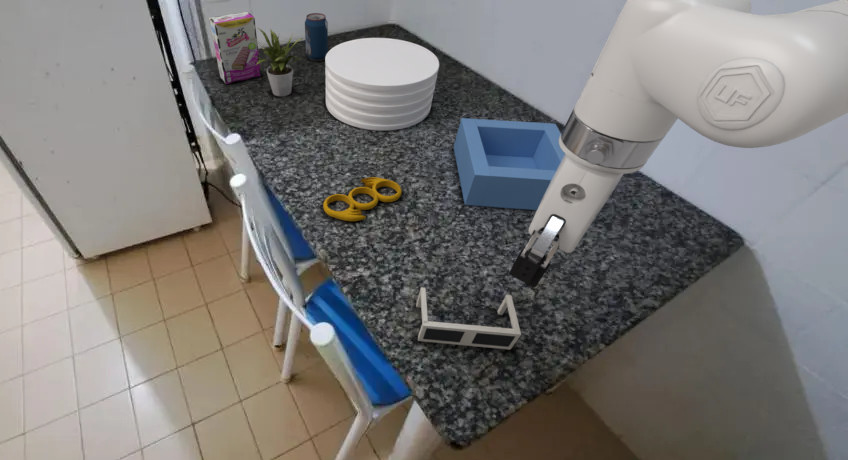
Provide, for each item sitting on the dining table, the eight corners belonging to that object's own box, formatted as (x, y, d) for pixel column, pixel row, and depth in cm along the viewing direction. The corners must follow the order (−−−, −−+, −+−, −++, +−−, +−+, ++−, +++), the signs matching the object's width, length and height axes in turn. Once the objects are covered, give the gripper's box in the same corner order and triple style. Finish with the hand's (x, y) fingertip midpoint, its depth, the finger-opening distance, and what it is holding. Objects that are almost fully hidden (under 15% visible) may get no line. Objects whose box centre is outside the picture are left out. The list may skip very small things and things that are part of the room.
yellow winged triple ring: (314, 197, 78) (335, 230, 72) (314, 191, 77) (335, 224, 70) (386, 176, 83) (412, 205, 77) (387, 170, 82) (413, 199, 75)
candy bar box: (226, 85, 110) (213, 23, 98) (220, 78, 113) (207, 17, 101) (262, 76, 114) (254, 15, 103) (255, 70, 117) (247, 10, 106)
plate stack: (452, 114, 101) (463, 70, 92) (357, 141, 92) (360, 95, 83) (393, 71, 118) (397, 31, 109) (308, 90, 109) (306, 48, 100)
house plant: (241, 92, 108) (230, 29, 96) (277, 75, 115) (271, 15, 103) (277, 109, 102) (270, 44, 90) (313, 90, 109) (310, 27, 97)
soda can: (331, 54, 126) (331, 14, 117) (322, 63, 121) (321, 21, 113) (311, 51, 127) (310, 11, 119) (302, 59, 123) (300, 18, 114)
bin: (541, 152, 89) (555, 123, 84) (569, 212, 75) (587, 182, 70) (453, 147, 90) (461, 117, 85) (464, 205, 77) (474, 174, 71)
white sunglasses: (510, 350, 56) (521, 334, 52) (418, 341, 56) (423, 325, 53) (501, 311, 60) (511, 294, 57) (416, 303, 61) (420, 287, 58)
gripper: (630, 201, 30) (542, 319, 42) (671, 114, 39) (589, 231, 52) (533, 163, 33) (478, 282, 46) (592, 90, 42) (533, 206, 55)
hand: (537, 255), depth 49 cm, fingers open, 9 cm apart
